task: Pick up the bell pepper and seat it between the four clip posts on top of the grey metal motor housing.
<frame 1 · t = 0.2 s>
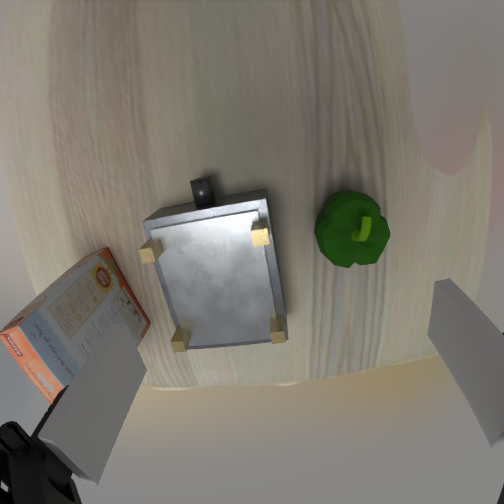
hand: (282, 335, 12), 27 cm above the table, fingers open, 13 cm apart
cracker box: (116, 291, 44), on the table
bell pepper: (342, 216, 38), on the table
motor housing: (225, 264, 41), on the table
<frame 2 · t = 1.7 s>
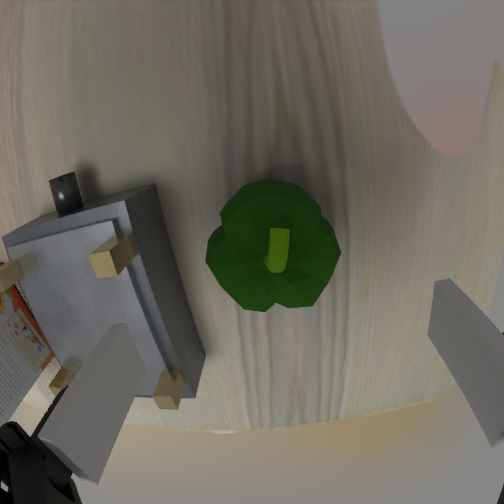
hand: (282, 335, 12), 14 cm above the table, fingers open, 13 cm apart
cracker box: (19, 312, 31), on the table
bell pepper: (273, 222, 25), on the table
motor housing: (117, 288, 28), on the table
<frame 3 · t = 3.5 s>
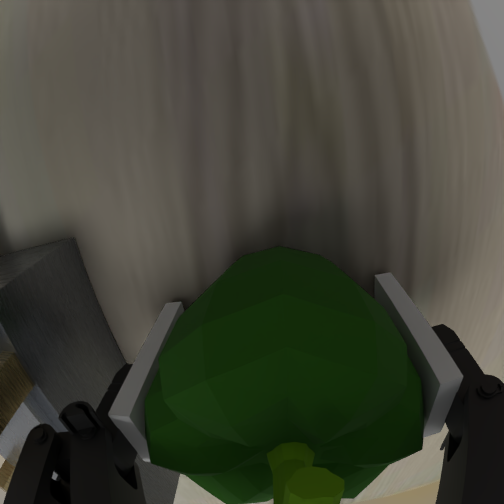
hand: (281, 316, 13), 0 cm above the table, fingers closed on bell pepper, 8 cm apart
bell pepper: (284, 308, 14), on the table, touching gripper
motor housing: (55, 375, 17), on the table
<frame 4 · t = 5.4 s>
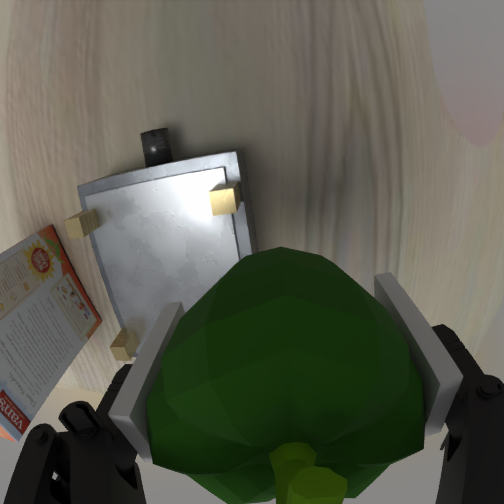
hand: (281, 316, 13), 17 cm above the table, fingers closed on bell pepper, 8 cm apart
cracker box: (63, 279, 34), on the table
bell pepper: (285, 308, 14), point 17 cm above the table, touching gripper
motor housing: (188, 248, 31), on the table
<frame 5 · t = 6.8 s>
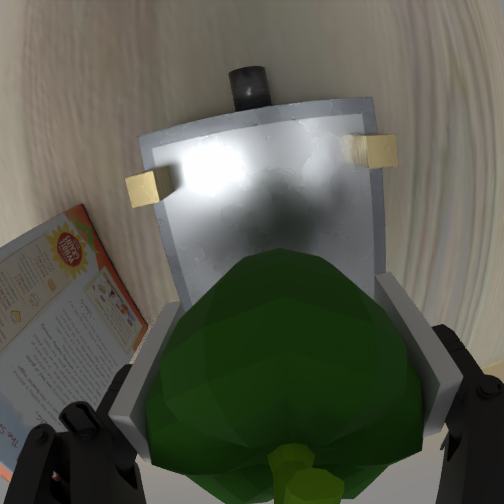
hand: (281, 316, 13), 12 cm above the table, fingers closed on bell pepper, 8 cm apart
cracker box: (95, 276, 28), on the table
bell pepper: (284, 309, 14), point 12 cm above the table, touching gripper
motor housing: (275, 228, 25), on the table
when the fingers open (9 cm above the table, at t = 7.8 s): bell pepper drops 2 cm, resting on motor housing.
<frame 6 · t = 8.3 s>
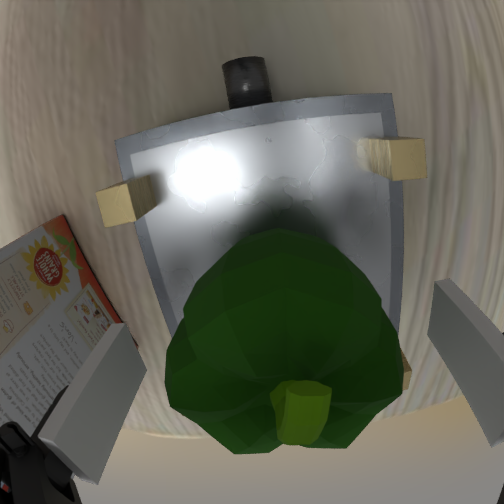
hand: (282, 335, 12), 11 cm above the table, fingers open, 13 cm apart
cracker box: (80, 292, 25), on the table
bell pepper: (283, 284, 16), point 6 cm above the table, touching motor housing
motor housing: (276, 242, 22), on the table
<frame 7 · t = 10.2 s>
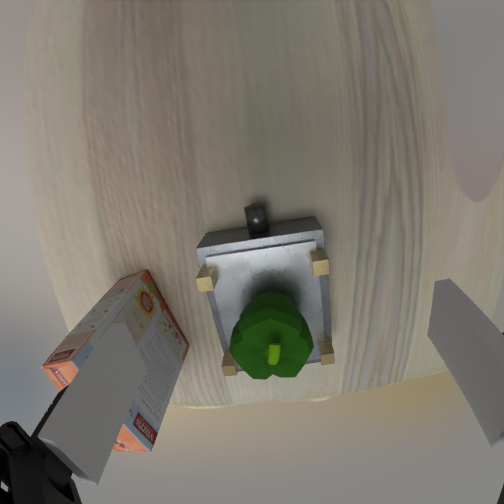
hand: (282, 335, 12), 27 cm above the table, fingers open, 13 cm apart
cracker box: (154, 313, 44), on the table
bell pepper: (272, 312, 36), point 6 cm above the table, touching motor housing
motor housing: (270, 288, 42), on the table
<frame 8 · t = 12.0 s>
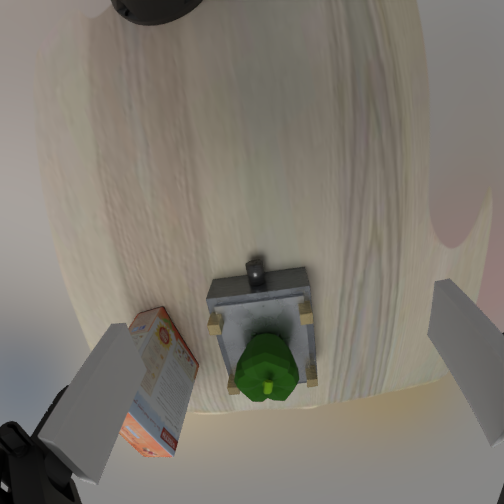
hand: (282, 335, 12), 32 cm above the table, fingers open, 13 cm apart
cracker box: (169, 340, 52), on the table
bell pepper: (268, 347, 43), point 6 cm above the table, touching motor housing
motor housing: (267, 322, 49), on the table
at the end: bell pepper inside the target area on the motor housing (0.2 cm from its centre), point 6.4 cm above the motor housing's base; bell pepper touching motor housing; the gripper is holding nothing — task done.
